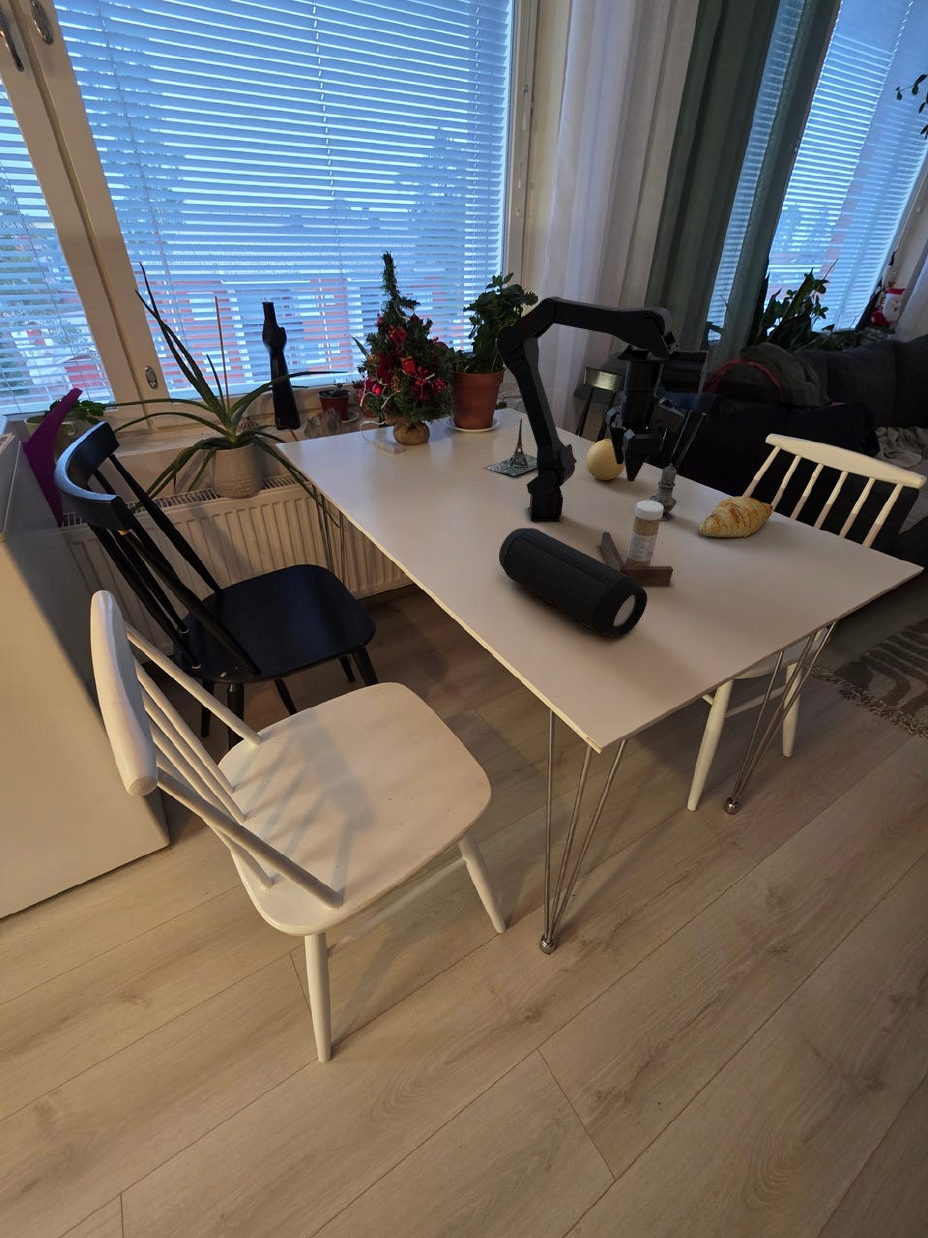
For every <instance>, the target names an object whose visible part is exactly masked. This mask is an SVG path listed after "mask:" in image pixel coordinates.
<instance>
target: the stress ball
mask: <svg viewBox="0 0 928 1238" xmlns="http://www.w3.org/2000/svg"><path fill="white" fill-rule="evenodd" d="M585 464H586V468H587V470H588V472H589V474H590V475H591V476H592V477H594V478H595V479H597V480H600V481H611V480H613V479H615V478H617V477H619V476H620V475H621V474H622V473H623V471H624V470H625V469H624V468H625V462H624V461H623V464H617V462H616V458H615V454H614V450H613V446H612V442H611V438H603V439H602V440H599V441H596V442H595V443H593V444H592V446H591V447H590V448H589V450H588V452H587V454H586V459H585Z"/></svg>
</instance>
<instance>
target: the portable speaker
mask: <svg viewBox="0 0 928 1238" xmlns="http://www.w3.org/2000/svg"><path fill="white" fill-rule="evenodd" d="M498 561H499V564H500V566H501V568H502V569H503V571H504V573H505V575H507V577H508V578H510V579H511V580H513V581H514V582H516V583H517V584H519V585H520V586H522V587H524V588H525V589H527V590H528V591H530V592H532V593H533V594H535V595H537V596H538V597H539V598H541V599H543V600H545V602H548V603H550V604H551V605H553V606H554V607H555V608H558V610H561V611H562V612H564V613H565V614H567V615H568V616H570V617H572V618H574V619H575V620H576V621H578V622H579V623H581V624H583V625H585V626H586V627H588V628H589V629H591V630H593V631H595V632H596V633H598V634H600V635H602V636H608V637H613V638H621V637H624V636H626V635H627V634H629V633H630V632H631V631H632V630H633V629H634V628H635V627H636V625H638V623H639V622H640V620H641V618H642V617H643V615H644V612H645V610H646V608H647V603H648V594H647V591H646V590H645V588H643V586H641V585H640V584H639V583H638V582H637V581H636V580H635V579H634V578H632V577H630V576H627V575H626V574H624V573H622V572H620V571H618V570H616V569H614V568H612V567H610V566H608V564H607V563H604V562H602V561H600V560H598V559H596V558H594V557H592V556H590V555H589V554H587V553H584V552H582V551H580V550H579V549H576V548H574V547H573V546H571V545H570V544H567V543H565V542H563V541H561V540H559V539H557V538H555V537H553V536H552V535H549V534H547V533H545V532H543V531H542V530H540V529H538V528H534V527H519V528H516V529H514V530H512V531H511V532H510V533H509V534H508V535H507V536H506V537H505V539H504V540H503V542H502V544H501V546H500V548H499V553H498Z"/></svg>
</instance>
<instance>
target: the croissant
mask: <svg viewBox="0 0 928 1238" xmlns="http://www.w3.org/2000/svg"><path fill="white" fill-rule="evenodd" d="M773 508H774V507H773V505H772V504H769V503H767V502H762V501H760V500H759V499H757V498H754V497H750V496H743V495H742V496H740V495H739V496H732V497H731V496H730V497H727V498H724V499H723V500H721V501H720V502H718V503H717V505H716V508H715V509H713V510H712V511H711V513H710V515H709V516H708V517H706V519H705V520H704V523H702V524H700V527H699V529H698V531H699V533H700V534H701V535H702V536H707V537H714V538H737V537H738V538H742V537H745V538H746V537H748V536H750V535H751V534H754V533H756V532H757V531H758V530H760V528H762V526H763V525H764V524H765V523H767V522H766V521H767V520H768V519H770V517H771V516H772V513H773Z"/></svg>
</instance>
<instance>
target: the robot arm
mask: <svg viewBox="0 0 928 1238" xmlns="http://www.w3.org/2000/svg"><path fill="white" fill-rule="evenodd" d="M555 324H556V325H560V326H564V327H565V326H566V327H571V328H577V329H582V330H586V331H592V332H597V333H603V334H609V335H611V336H614V337H616V338H617V339H618V340H620V341H622V342H624V343H626V344H628V345H627V346H626V347H625V348H624V350H623V351H622V352H621V353H619V354H617V356H616V359H617V360H618V361H625V362H626V361H627V365H626V372H625V374H626V375H625V378H624V379H625V381H624V386H623V390H620V391H619V399H621V402H620V403H621V404H620V407H611V408H610V409H609V410H608V411H607V412H606V417H605V423H606V424H607V426H606V427H607V430H608V434H609V437H610V438H609V439H611V442H612V446H613V450H614V454H615V458H616V462H617V464H623V461H624V462H625V467H624V468H625V473H626V479H627V481H628V482H632V483H633V482H635V480H636V478H637V476H638V474H639V472H640V470H641V469H642V467H643V465H644V463H645V462H646V460H647V458H648V457H650V456H651V455H653V454H657V453H658V452H662V450H663V447H664V443H665V438H664V437H663V436H662V435H661V434H660V433H659V431H658V430H657V429H656V425H658V426H659V427H662V428H665V429H667V430H669V432H672V433H674V434H675V433H676V432H677V430H678V428H679V427H680V425H681V424H682V421H683V420H684V418H685V415H684V414H683V413H682V412H680V411H679V410H677V409H676V408H674V407H673V401H672V400H670V398H667V397H664V396H663V397H662V398H659V396H658V395H657V390H658V386H659V383H660V385H661V388H664V391H665V392H666V393H667V392H669V393H676V394H685V395H694V396H700V394H701V393H702V390H703V387H704V386H705V385H704V384H705V381H706V378H707V374H708V369H707V368H708V362H709V355H710V351H709V350H704V349H699V350H689V349H681V348H680V345H679V342H678V341H677V338H676V336H675V334H674V333H673V330H672V329H673V328H672V327H673V318H672V315H671V314H670V311H669V310H668V309H667V308H665V307H663V306H640V307H638V306H637V307H629V308H628V307H627V308H625V307H624V308H620V307H619V308H618V307H614V306H613V307H612V306H607V305H600V304H595V303H589V302H583V301H577V300H571V299H566V298H561V297H560V296H556V295H554V296H549V297H544V298H543V299H542V300H540V302H539V303H538V304H537V305H536V306H535V307H534V308H532V309H531V310H530V311H528V312H527V313H526V314H524V315H523V316H522V317H520V318H519V319H518V320H517V321H515V322H514V323H512V324H509V325H505V326H504V327H502V328H501V329H500V330H499V332H498V333H497V337H496V339H495V346H496V350H497V352H498V354H499V356H500V358H501V361H502V362H503V364H504V366H505V367H506V369H507V370H508V371H509V372H510V373H511V375H513V377H514V378H515V381H516V384H517V388H518V390H519V394H520V397H521V400H522V403H523V406H524V410H525V413H526V416H527V419H528V422H529V426H530V428H531V432H532V435H533V438H534V442H535V445H536V458H537V462H536V465H537V468H536V471H537V475H536V476H535V477H534V478H533V479H531V480H530V481H529V482H528V483H526V488H527V492H528V495H530V498H529V507H528V508H527V510H528V516H529V520H530V522H560V521H561V515H562V513H563V512H562V511H563V504H564V496H563V493H562V490H561V487H562V486H563V485H564V484H565V483H566V482H568V480H569V479H570V478H571V477H572V476H573V475H574V473H575V471H576V463H577V462H578V460H577V459H576V457H575V455H574V451H573V445H572V444H571V443H568V444H566V445H565V444H564V443H563V442H562V440H561V439H560V437H559V434H558V431H557V427H556V424H555V421H554V417H553V414H552V411H551V407H550V405H549V404H550V403H549V401H548V397H547V393H546V391H545V388H544V387H545V386H544V383H543V381H542V376H541V373H540V369H539V360H540V347H539V338H541V337H542V336H543V335H544V334H546V333H547V331H549V329H550V328H551V327H552V326H553V325H555ZM637 348H638V349H637ZM662 365H663V366H662ZM659 381H660V382H659Z"/></svg>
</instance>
